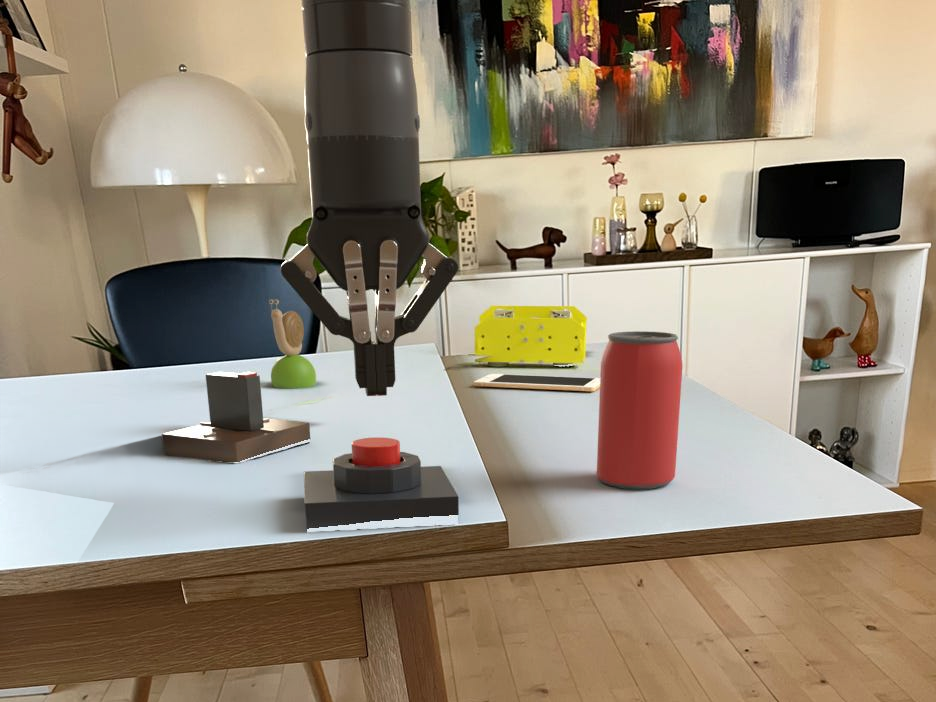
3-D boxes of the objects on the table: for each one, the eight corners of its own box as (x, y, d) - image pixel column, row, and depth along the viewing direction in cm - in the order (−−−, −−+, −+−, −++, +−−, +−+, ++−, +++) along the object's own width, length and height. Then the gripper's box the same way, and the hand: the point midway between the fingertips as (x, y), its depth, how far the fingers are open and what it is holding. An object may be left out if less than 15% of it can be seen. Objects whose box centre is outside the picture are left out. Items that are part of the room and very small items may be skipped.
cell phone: (491, 378, 143) (490, 373, 143) (606, 383, 138) (606, 378, 138) (472, 386, 136) (472, 381, 136) (593, 391, 132) (594, 386, 131)
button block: (306, 533, 75) (302, 478, 73) (305, 498, 84) (302, 448, 82) (458, 525, 76) (458, 471, 75) (441, 492, 85) (440, 443, 84)
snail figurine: (260, 403, 126) (251, 299, 121) (285, 395, 131) (278, 295, 127) (301, 405, 124) (293, 300, 120) (325, 397, 130) (318, 296, 125)
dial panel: (238, 464, 95) (235, 441, 94) (163, 454, 99) (160, 431, 98) (311, 442, 104) (310, 421, 103) (240, 434, 108) (238, 413, 107)
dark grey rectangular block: (210, 427, 101) (204, 371, 99) (224, 423, 103) (219, 369, 101) (250, 431, 99) (245, 375, 97) (264, 428, 101) (259, 372, 99)
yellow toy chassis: (585, 364, 157) (587, 305, 154) (583, 369, 152) (585, 309, 149) (480, 362, 159) (479, 305, 156) (474, 367, 154) (474, 308, 151)
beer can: (620, 494, 84) (627, 341, 80) (582, 476, 90) (587, 332, 85) (689, 486, 87) (700, 337, 82) (649, 470, 92) (657, 329, 88)
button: (353, 471, 77) (352, 447, 76) (351, 461, 80) (350, 438, 79) (402, 469, 77) (401, 446, 77) (398, 459, 81) (397, 436, 80)
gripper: (452, 137, 75) (457, 383, 81) (264, 137, 73) (285, 390, 79) (468, 129, 68) (472, 399, 74) (261, 130, 66) (284, 407, 73)
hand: (375, 394), depth 77 cm, fingers closed
